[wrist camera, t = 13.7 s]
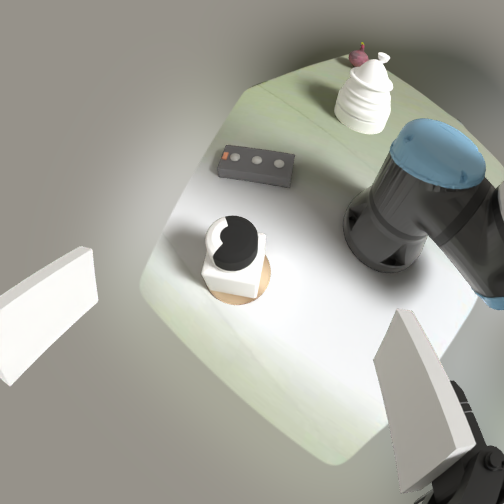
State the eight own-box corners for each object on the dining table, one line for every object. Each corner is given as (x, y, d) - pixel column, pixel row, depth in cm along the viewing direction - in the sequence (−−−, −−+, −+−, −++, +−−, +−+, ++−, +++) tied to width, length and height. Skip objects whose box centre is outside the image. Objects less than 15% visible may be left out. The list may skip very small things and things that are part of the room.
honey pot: (358, 97, 62) (374, 41, 45) (394, 127, 57) (418, 70, 41) (323, 107, 59) (335, 44, 43) (360, 140, 55) (383, 74, 38)
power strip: (293, 163, 52) (295, 153, 49) (289, 187, 49) (291, 178, 47) (227, 153, 53) (225, 143, 50) (218, 176, 50) (217, 166, 48)
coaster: (243, 231, 46) (243, 229, 45) (283, 277, 43) (284, 276, 42) (192, 267, 43) (191, 266, 43) (230, 318, 40) (230, 317, 40)
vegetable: (369, 71, 69) (376, 46, 60) (358, 74, 67) (365, 48, 58) (354, 62, 71) (360, 38, 62) (343, 65, 69) (348, 39, 60)
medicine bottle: (264, 254, 43) (268, 213, 32) (256, 299, 41) (257, 271, 30) (219, 246, 44) (208, 204, 33) (208, 290, 41) (191, 259, 30)
